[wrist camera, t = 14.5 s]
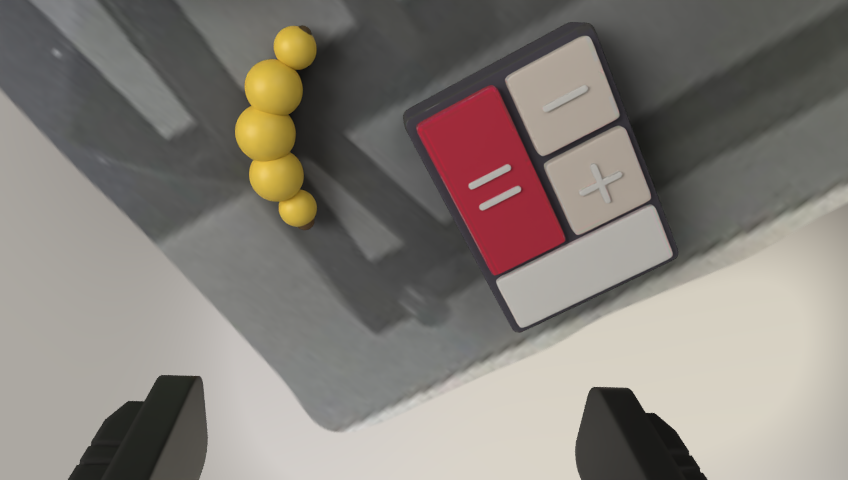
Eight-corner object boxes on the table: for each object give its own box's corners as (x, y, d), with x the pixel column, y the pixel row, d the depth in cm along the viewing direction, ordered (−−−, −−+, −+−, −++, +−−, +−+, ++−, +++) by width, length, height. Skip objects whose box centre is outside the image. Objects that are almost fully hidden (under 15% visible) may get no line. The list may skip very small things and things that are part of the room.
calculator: (596, 19, 28) (688, 262, 34) (571, 18, 32) (656, 236, 38) (401, 124, 30) (518, 342, 35) (399, 111, 34) (505, 309, 39)
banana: (236, 19, 30) (221, 22, 28) (318, 25, 31) (312, 29, 28) (246, 220, 35) (235, 241, 32) (318, 222, 36) (313, 244, 33)
